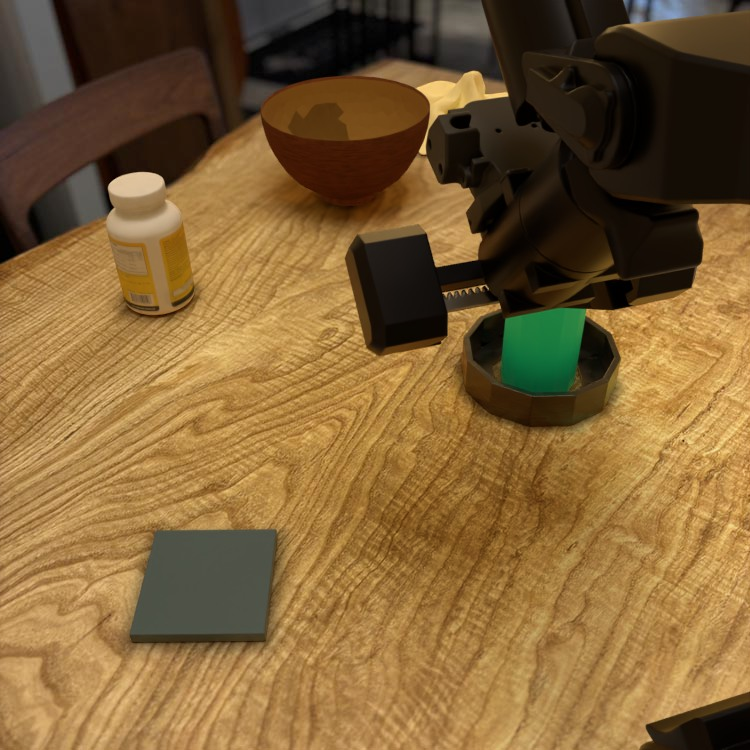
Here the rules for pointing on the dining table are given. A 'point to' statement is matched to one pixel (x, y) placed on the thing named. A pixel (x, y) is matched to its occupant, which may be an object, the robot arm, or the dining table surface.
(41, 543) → the dining table surface
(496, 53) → the robot arm
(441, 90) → the cloth
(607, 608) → the dining table surface
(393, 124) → the bowl
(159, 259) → the pill bottle
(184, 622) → the coaster
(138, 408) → the dining table surface
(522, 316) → the candle
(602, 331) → the pan
